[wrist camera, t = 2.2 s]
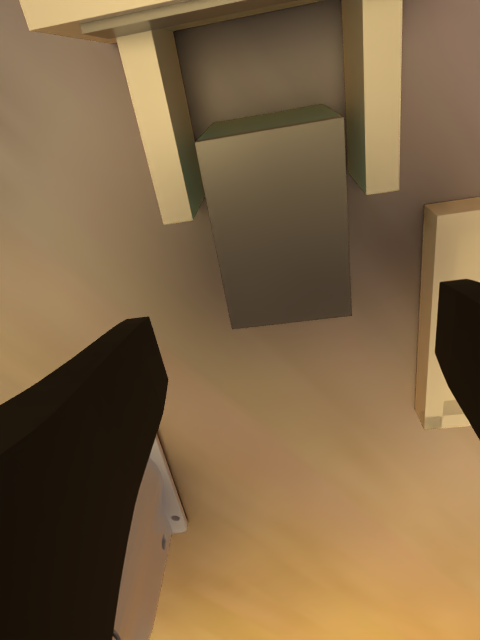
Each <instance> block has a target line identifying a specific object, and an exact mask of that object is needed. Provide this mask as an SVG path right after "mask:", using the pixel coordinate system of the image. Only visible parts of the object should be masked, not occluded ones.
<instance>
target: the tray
mask: <svg viewBox="0 0 480 640" xmlns="http://www.w3.org/2000/svg"><path fill="white" fill-rule="evenodd" d="M460 279H470V280H474V281H477V282H480V197H475V198H468V199H461V200H454V201H447V202H440V203H433V204H426V205H424V223H423V244H422V266H421V287H420V309H419V330H418V352H417V373H416V395H415V410H416V412H417V415H418V417H419V419H420V422H421V424H422V426H423V428H424V430H426V429H439V428H451V427H464V426H471V424H470V423H469V421H468V419H467V418H466V416H465V414H464V413H463V411H462V409H461V408H460V406H459V404H458V403H457V401H456V399H455V397H454V396H453V394H452V392H451V391H450V389H449V387H448V385H447V383H446V380H445V378H444V375H443V373H442V371H441V368H440V366H439V363H438V360H437V358H436V355H435V340H436V326H437V312H438V298H439V284H440V282H443V281H451V280H460Z"/></svg>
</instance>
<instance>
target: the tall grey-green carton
mask: <svg viewBox="0 0 480 640" xmlns="http://www.w3.org/2000/svg"><path fill="white" fill-rule="evenodd" d="M195 147H196V152H197V157H198V162H199V167H200V172H201V177H202V182H203V187H204V192H205V197H206V202H207V207H208V212H209V217H210V222H211V227H212V232H213V237H214V242H215V247H216V252H217V257H218V262H219V267H220V272H221V277H222V281H223V286H224V291H225V296H226V301H227V306H228V311H229V316H230V321H231V326H232V329H239V328H248V327H257V326H266V325H274V324H283V323H292V322H301V321H310V320H318V319H327V318H336V317H345V316H352V306H351V282H350V257H349V233H348V208H347V184H346V159H345V134H344V117H342V116H341V115H339V114H338V113H336V112H334V111H333V110H331V109H330V108H328V107H326V106H325V105H323V104H319V105H313V106H308V107H302V108H296V109H290V110H285V111H279V112H273V113H267V114H262V115H256V116H250V117H245V118H239V119H233V120H227V121H222V122H216V123H213V124H212V125H211V126H210V127H209V128H208V129H207V130H206V131H205V132H204V133H203V134H202V135H201V136H200V138H199V139H198V140H197V141H196V142H195Z"/></svg>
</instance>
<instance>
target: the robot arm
mask: <svg viewBox="0 0 480 640" xmlns="http://www.w3.org/2000/svg"><path fill="white" fill-rule="evenodd" d="M435 355H436V358H437V360H438V363H439V366H440V368H441V371H442V373H443V375H444V378H445V380H446V383H447V385H448V387H449V389H450V391H451V392H452V394H453V396H454V397H455V399H456V401H457V403H458V404H459V406H460V408H461V409H462V411H463V413H464V414H465V416H466V418H467V419H468V421H469V423H470V424H471V426H472V428H473V429H474V431H475V433H476V434H477V436H478V438H479V439H480V282H477V281H474V280H470V279H460V280H451V281H443V282H440V284H439V298H438V312H437V326H436V340H435ZM167 385H168V377H167V374H166V370H165V367H164V364H163V361H162V357H161V354H160V351H159V347H158V344H157V341H156V338H155V334H154V331H153V328H152V325H151V321H150V318H149V317H141V318H133V319H126V320H124V321H123V322H121V323H119V324H118V325H116V326H115V327H113V328H112V329H111V330H109V331H108V332H106V333H105V334H104V335H102V336H101V337H100V338H98V339H97V340H96V341H95V342H93V343H92V344H91V345H89V346H88V347H87V348H85V349H84V350H83V351H81V352H80V353H79V354H77V355H76V356H75V357H73V358H72V359H71V360H69V361H68V362H66V363H65V364H63V365H62V366H61V367H59V368H58V369H56V370H55V371H53V372H52V373H51V374H49V375H48V376H46V377H45V378H43V379H42V380H41V381H39V382H38V383H36V384H35V385H33V386H31V387H30V388H28V389H27V390H25V391H23V392H22V393H20V394H19V395H17V396H15V397H13V398H12V399H10V400H8V401H7V402H5V403H3V404H1V405H0V640H149V638H150V636H151V633H152V629H153V625H154V620H155V616H156V611H157V606H158V601H159V596H160V591H161V586H162V581H163V576H164V571H165V566H166V561H167V556H168V551H169V546H170V541H171V536H172V533H183V532H185V531H186V530H187V527H188V522H187V519H186V516H185V513H184V511H183V508H182V505H181V502H180V499H179V496H178V493H177V490H176V488H175V485H174V482H173V479H172V476H171V473H170V470H169V467H168V464H167V462H166V459H165V456H164V453H163V450H162V447H161V444H160V441H159V439H158V436H157V431H158V428H159V425H160V421H161V418H162V415H163V410H164V405H165V399H166V392H167Z"/></svg>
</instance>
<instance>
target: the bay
mask: <svg viewBox="0 0 480 640" xmlns="http://www.w3.org/2000/svg"><path fill="white" fill-rule="evenodd" d="M19 1H20V4H21V7H22V10H23V13H24V16H25V19H26V22H27V25H28V28H29V31H35V32H41V33H47V34H53V35H60V36H66V37H72V38H78V39H84V40H90V41H97V42H103V43H109V44H113V43H117V44H118V48H119V52H120V56H121V59H122V63H123V67H124V71H125V75H126V79H127V83H128V87H129V91H130V95H131V99H132V103H133V107H134V110H135V114H136V118H137V122H138V126H139V130H140V134H141V138H142V142H143V146H144V150H145V154H146V157H147V161H148V165H149V169H150V173H151V177H152V181H153V185H154V189H155V193H156V197H157V201H158V205H159V208H160V212H161V216H162V220H163V224H164V225H165V224H172V223H179V222H186V221H193V219H194V217H195V215H196V213H197V211H198V209H199V207H200V204H201V202H202V200H203V198H204V196H205V192H204V187H203V182H202V177H201V172H200V167H199V162H198V157H197V152H196V147H195V139H194V134H193V129H192V124H191V119H190V114H189V109H188V104H187V99H186V94H185V89H184V84H183V79H182V74H181V69H180V64H179V59H178V54H177V49H176V44H175V39H174V34H173V31H177V30H182V29H187V28H192V27H197V26H202V25H207V24H211V23H216V22H221V21H226V20H231V19H236V18H241V17H246V16H251V15H256V14H261V13H266V12H271V11H275V10H280V9H285V8H290V7H295V6H300V5H305V4H310V3H315V2H320V1H325V0H19ZM341 6H342V32H343V58H344V84H345V110H346V135H347V161H348V173H349V174H350V175H351V177H352V178H353V179H354V180H355V182H356V183H357V184H358V185H359V187H360V188H361V189H362V190H363V192H364V193H365V194H366V195H370V194H377V193H383V192H390V191H397V190H399V168H400V111H401V55H402V0H341Z"/></svg>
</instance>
